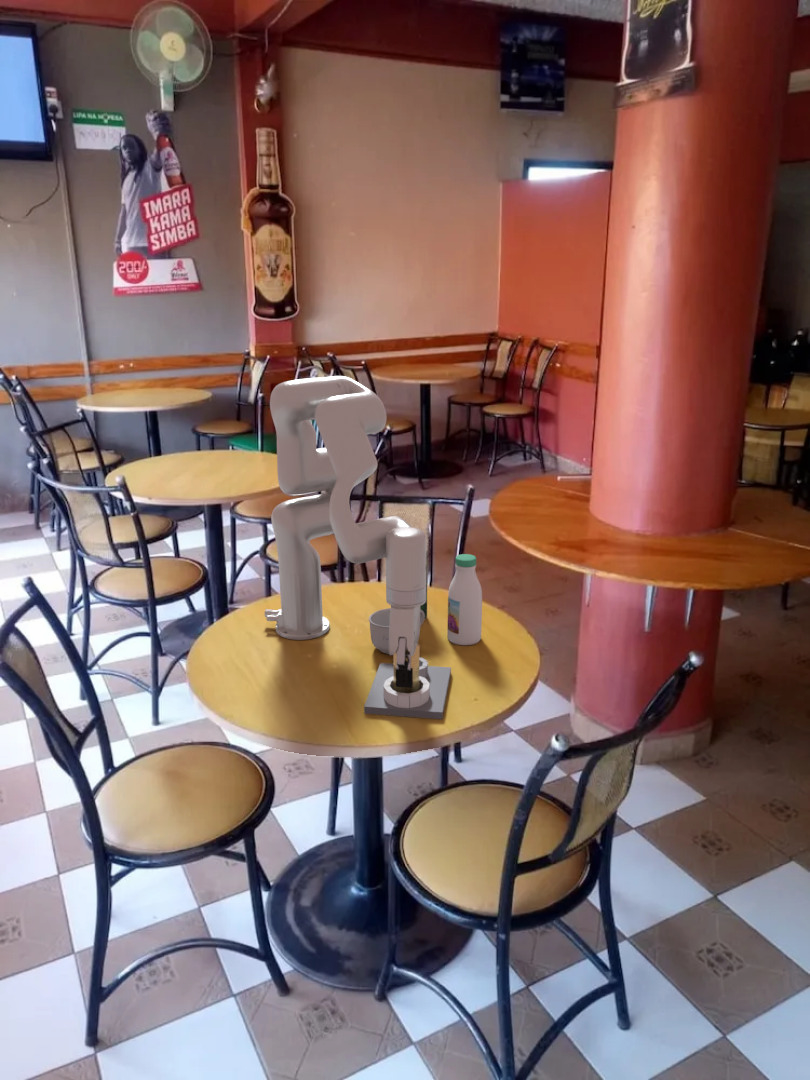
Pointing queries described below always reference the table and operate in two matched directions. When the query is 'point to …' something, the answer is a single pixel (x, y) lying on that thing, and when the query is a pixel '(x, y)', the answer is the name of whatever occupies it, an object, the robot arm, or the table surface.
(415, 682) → the gold cylindrical peg
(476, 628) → the milk bottle
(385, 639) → the teacup
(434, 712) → the collar board
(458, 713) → the table surface
